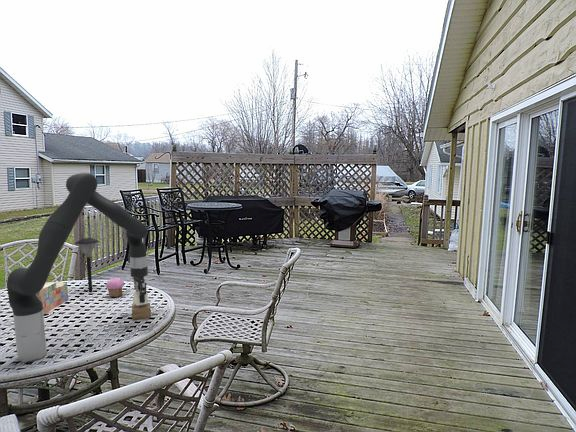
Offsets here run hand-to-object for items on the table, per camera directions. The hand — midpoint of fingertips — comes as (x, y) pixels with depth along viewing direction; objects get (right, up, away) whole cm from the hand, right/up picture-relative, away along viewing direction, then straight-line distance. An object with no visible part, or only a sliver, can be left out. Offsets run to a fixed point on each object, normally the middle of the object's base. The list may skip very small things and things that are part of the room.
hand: (140, 300), depth 186 cm
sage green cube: (-5, -6, +11) cm, 13 cm away
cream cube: (0, -1, 0) cm, 1 cm away
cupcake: (-24, -4, +29) cm, 38 cm away
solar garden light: (-42, -3, +36) cm, 55 cm away
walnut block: (0, -7, +1) cm, 8 cm away
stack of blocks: (-50, -6, +13) cm, 52 cm away
